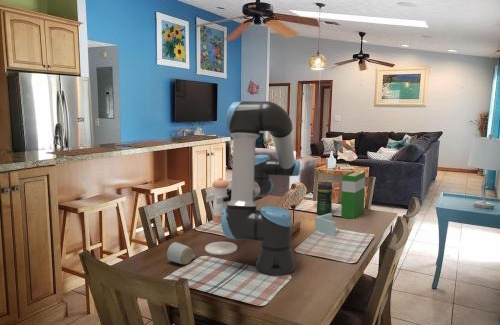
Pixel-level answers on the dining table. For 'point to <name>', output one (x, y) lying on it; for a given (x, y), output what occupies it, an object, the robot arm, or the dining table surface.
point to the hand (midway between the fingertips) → (211, 199)
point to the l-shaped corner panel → (326, 225)
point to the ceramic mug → (180, 253)
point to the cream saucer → (221, 248)
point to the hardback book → (353, 194)
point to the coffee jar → (324, 198)
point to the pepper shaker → (219, 191)
